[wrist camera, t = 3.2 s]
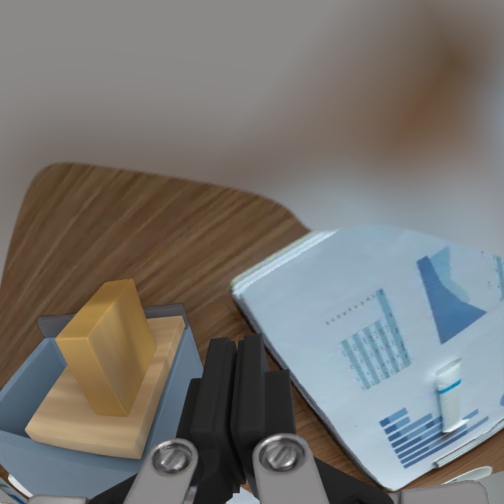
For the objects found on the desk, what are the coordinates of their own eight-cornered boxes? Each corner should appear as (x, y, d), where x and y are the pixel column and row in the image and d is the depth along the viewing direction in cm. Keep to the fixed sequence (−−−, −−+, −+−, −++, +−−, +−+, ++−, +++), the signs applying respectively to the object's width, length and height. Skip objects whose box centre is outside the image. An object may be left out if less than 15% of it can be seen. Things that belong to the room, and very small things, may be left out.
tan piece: (77, 266, 18) (-23, 359, 9) (164, 252, 17) (83, 366, 8) (102, 332, 19) (32, 441, 10) (185, 326, 19) (141, 460, 10)
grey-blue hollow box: (39, 316, 20) (-45, 409, 10) (183, 302, 19) (125, 450, 9) (88, 407, 23) (41, 503, 13) (217, 409, 22) (201, 537, 12)
